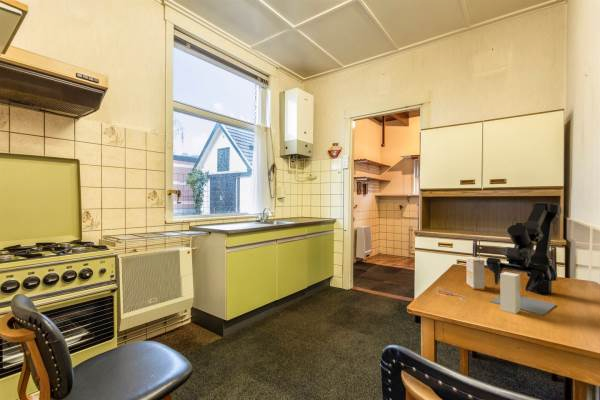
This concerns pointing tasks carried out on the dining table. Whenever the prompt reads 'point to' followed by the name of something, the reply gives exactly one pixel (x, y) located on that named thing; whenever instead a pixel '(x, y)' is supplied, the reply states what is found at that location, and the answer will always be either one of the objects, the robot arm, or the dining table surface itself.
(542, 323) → the dining table surface
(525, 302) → the mat
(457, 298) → the key chain
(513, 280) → the block
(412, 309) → the dining table surface
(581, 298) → the dining table surface
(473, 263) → the supplement box
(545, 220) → the robot arm
